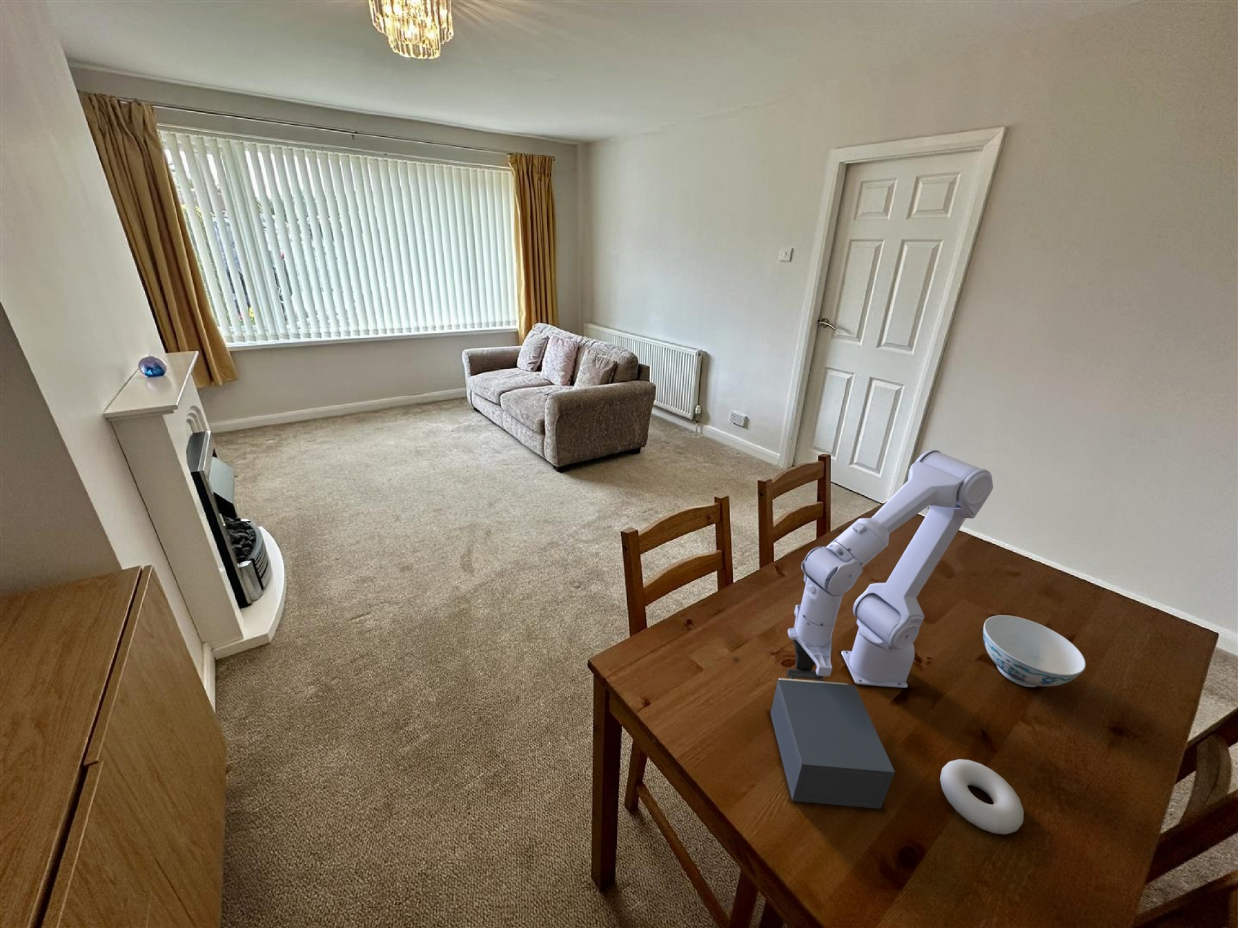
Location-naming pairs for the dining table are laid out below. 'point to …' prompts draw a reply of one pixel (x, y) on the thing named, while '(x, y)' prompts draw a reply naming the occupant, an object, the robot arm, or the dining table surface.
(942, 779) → the donut
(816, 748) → the cabinet
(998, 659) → the chinaware
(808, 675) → the drawer
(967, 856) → the dining table surface
